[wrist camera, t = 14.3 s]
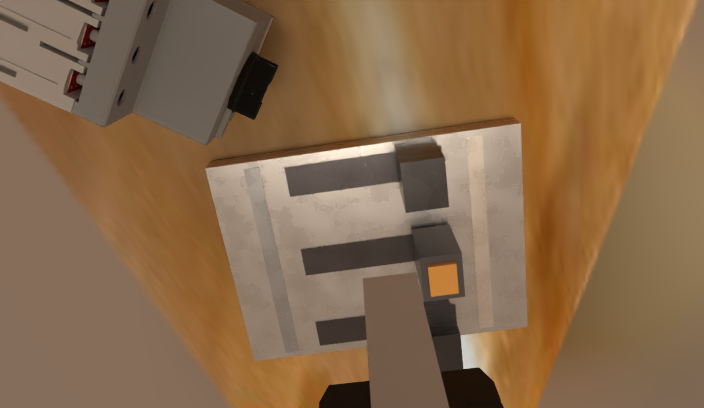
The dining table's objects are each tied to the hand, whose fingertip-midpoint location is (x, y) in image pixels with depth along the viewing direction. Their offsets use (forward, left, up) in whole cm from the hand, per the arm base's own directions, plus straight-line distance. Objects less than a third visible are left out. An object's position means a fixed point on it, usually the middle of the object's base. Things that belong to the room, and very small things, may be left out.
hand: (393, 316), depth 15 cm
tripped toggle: (+11, +4, -26) cm, 28 cm away
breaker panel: (+11, -1, -28) cm, 30 cm away
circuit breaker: (-8, -12, -28) cm, 32 cm away
